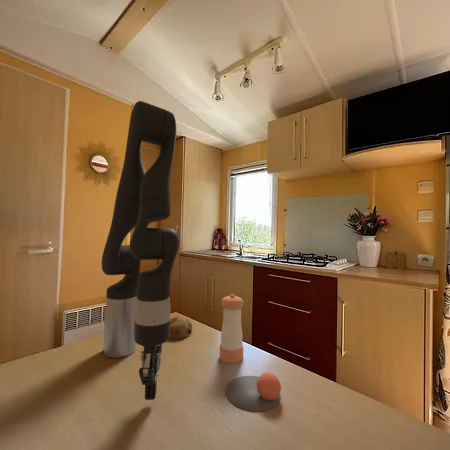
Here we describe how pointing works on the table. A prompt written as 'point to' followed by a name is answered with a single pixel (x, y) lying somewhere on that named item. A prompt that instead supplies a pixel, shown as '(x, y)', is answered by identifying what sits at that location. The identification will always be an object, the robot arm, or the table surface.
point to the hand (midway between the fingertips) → (150, 397)
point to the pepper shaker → (231, 330)
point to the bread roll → (180, 327)
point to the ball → (268, 386)
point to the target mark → (248, 395)
